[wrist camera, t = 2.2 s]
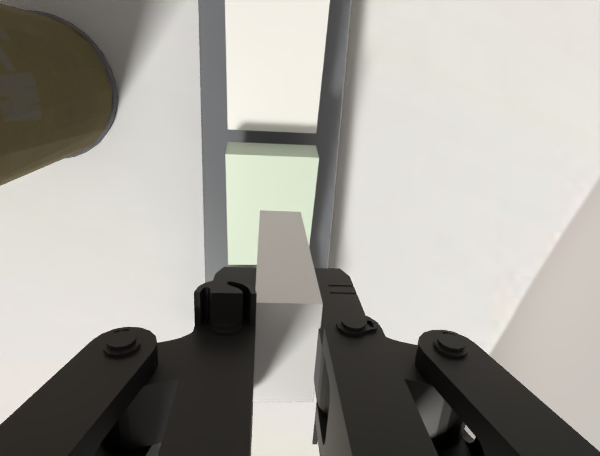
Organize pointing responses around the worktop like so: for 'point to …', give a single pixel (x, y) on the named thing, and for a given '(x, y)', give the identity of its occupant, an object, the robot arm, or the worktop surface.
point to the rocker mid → (266, 190)
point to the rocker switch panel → (219, 134)
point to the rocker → (275, 63)
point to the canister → (49, 92)
